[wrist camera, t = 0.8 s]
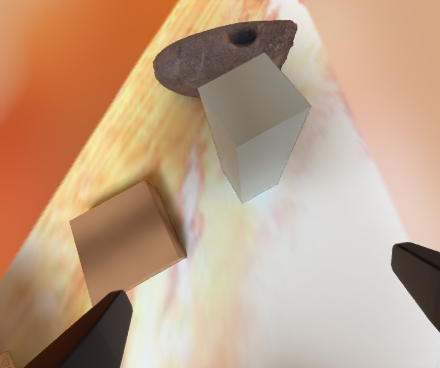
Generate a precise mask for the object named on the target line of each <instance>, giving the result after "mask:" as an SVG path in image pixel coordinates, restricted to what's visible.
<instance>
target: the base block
mask: <svg viewBox="0 0 440 368" xmlns="http://www.w3.org/2000/svg"><path fill="white" fill-rule="evenodd" d="M69 222H70V226H71V229H72V233H73V236H74V240H75V244H76V247H77V251H78V255H79V258H80V262H81V266H82V269H83V273H84V276H85V280H86V284H87V287H88V291H89V295H90V298H91V302H92V305H93V307H94V306H95V305H96V304H97V303H98V302H99V301H100V300H102V299H103V298H104V297H105V296H106V295H107V294H108V293H110V292H111V291H116V290H124V291H125V292H127V291H128V290H130V289H132V288H134V287H135V286H137V285H139V284H141V283H142V282H144V281H146V280H148V279H149V278H151V277H153V276H155V275H156V274H158V273H160V272H162V271H163V270H165V269H167V268H169V267H171V266H172V265H174V264H176V263H178V262H179V261H181V260H183V259H185V258H186V257H187V256H186V254H185V251H184V249H183V247H182V245H181V243H180V240H179V238H178V236H177V234H176V231H175V229H174V227H173V225H172V223H171V220H170V218H169V216H168V214H167V212H166V209H165V207H164V205H163V203H162V201H161V198H160V196H159V194H158V192H157V189H156V188H155V187H154V186H152V185H151V184H149V183H148V182H147V181H145V180H144V181H142V182H140V183H138V184H136V185H135V186H133V187H131V188H129V189H127V190H126V191H124V192H122V193H120V194H118V195H116V196H115V197H113V198H111V199H109V200H107V201H105V202H104V203H102V204H100V205H98V206H96V207H94V208H93V209H91V210H89V211H87V212H85V213H84V214H82V215H80V216H78V217H76V218H74V219H73V220H71V221H69Z"/></svg>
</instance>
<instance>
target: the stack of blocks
mask: <svg viewBox="0 0 440 368" xmlns="http://www.w3.org/2000/svg"><path fill="white" fill-rule="evenodd" d="M0 368H15V366H14V364H13V362H12V359H11V357H10V354H9V352H4V353H2V354H0Z"/></svg>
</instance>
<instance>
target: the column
mask: <svg viewBox="0 0 440 368" xmlns="http://www.w3.org/2000/svg"><path fill="white" fill-rule="evenodd" d="M198 91H199V94H200V97H201V101H202V104H203V107H204V110H205V114H206V117H207V120H208V123H209V127H210V130H211V133H212V136H213V140H214V143H215V146H216V149H217V153H218V156H219V159H220V162H221V166H222V169H223V172H224V174H225V175H226V177H227V179H228V180H229V182H230V184H231V185H232V187H233V189H234V190H235V192H236V194H237V195H238V197H239V199H240V200H241V202H242V204H243V203H245V202H246V201H248V200H250V199H252V198H254V197H255V196H257V195H259V194H261V193H262V192H264V191H266V190H268V189H269V188H271V187H273V186H275V185H277V183H278V181H279V179H280V177H281V174H282V172H283V170H284V167H285V165H286V163H287V161H288V158H289V156H290V154H291V152H292V149H293V147H294V145H295V142H296V140H297V138H298V136H299V133H300V131H301V129H302V126H303V124H304V122H305V120H306V117H307V115H308V113H309V111H310V108H311V105H310V104H309V103H308V101H307V100H306V99H305V98H304V97H303V96H302V95H301V93H300V92H299V91H298V90H297V89H296V88H295V87H294V85H293V84H292V83H291V82H290V81H289V80H288V79H287V77H286V76H285V75H284V74H283V73H282V72H281V71H280V69H279V68H278V67H277V66H276V65H275V64H274V63H273V62H272V60H271V59H270V58H269V57H268V56H267V55H266V54H265V53H263V54H261V55H259V56H257V57H255V58H254V59H252V60H250V61H248V62H246V63H244V64H242V65H240V66H239V67H237V68H235V69H233V70H231V71H229V72H227V73H226V74H224V75H222V76H220V77H218V78H216V79H214V80H212V81H211V82H209V83H207V84H205V85H203V86H201V87H199V88H198Z"/></svg>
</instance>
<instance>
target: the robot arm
mask: <svg viewBox="0 0 440 368" xmlns="http://www.w3.org/2000/svg"><path fill="white" fill-rule="evenodd" d="M391 266H392V269H393V271H394V273H395V274H396V276H397V277H398V278H399V280H400V281H401V283H402V284H403V285H404V287H405V288H406V289H407V291H408V292H409V293H410V295H411V296H412V297H413V299H414V300H415V302H416V303H417V304H418V306H419V307H420V308H421V310H422V311H423V312H424V314H425V315H426V316H427V318H428V319H429V320H430V321H431V323H432V324H433V325H434V326H435V327H436V329H437V330H438V331H439V332H440V252H438V251H435V250H432V249H429V248H426V247H423V246H420V245H417V244H414V243H411V242H403V243H397V244H394V246H393V248H392V259H391ZM132 312H133V309H132V305H131V303H130V301H129V299H128V297H127V294H126V292H125V291H124V290H116V291H111V292H110V293H108V294H107V295H106V296H105V297H104V298H103V299H102V300H100V301H99V302H98V303H97V304H96V305H95V306H94V307H92V308H91V309H90V310H89V311H88V312H87V313H86V314H84V315H83V316H82V317H81V318H80V319H79V320H78V321H76V322H75V323H74V324H73V325H72V326H71V327H70V328H68V329H67V330H66V331H65V332H64V333H63V334H61V335H60V336H59V337H58V338H57V339H56V340H55V341H53V342H52V343H51V344H50V345H49V346H48V347H47V348H45V349H44V350H43V351H42V352H41V353H40V354H39V355H37V356H36V357H35V358H34V359H33V360H32V361H31V362H29V363H28V364H27V365H26V366H25V367H24V368H120V365H121V361H122V357H123V353H124V349H125V344H126V340H127V335H128V331H129V327H130V322H131V318H132Z"/></svg>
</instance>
